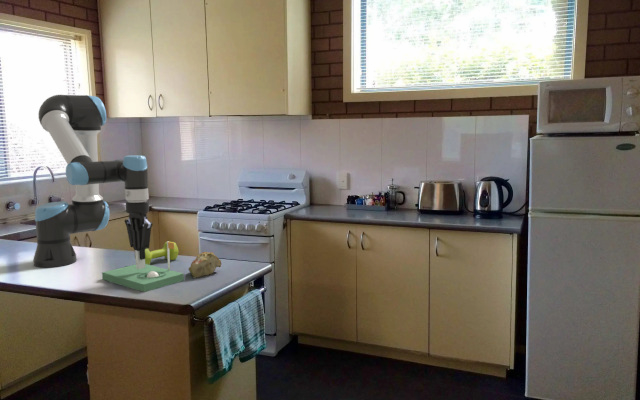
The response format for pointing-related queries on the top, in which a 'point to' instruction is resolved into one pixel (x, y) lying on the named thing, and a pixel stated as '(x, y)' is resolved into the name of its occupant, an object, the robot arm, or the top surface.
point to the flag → (171, 246)
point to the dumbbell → (161, 253)
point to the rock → (204, 264)
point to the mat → (142, 277)
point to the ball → (152, 274)
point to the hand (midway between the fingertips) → (140, 268)
